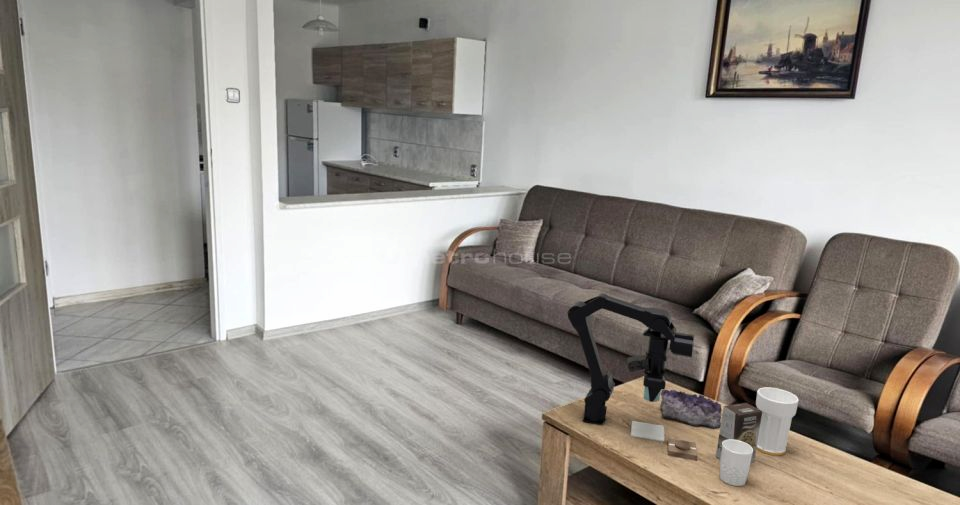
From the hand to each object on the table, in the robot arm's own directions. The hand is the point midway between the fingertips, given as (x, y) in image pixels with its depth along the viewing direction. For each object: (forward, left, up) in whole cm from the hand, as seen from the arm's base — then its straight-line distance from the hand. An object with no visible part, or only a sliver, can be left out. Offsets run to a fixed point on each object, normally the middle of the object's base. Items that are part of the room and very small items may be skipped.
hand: (651, 398), depth 196 cm
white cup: (+23, -20, -12) cm, 33 cm away
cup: (+36, +3, -12) cm, 38 cm away
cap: (0, 0, 0) cm, 0 cm away
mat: (0, 0, -11) cm, 11 cm away
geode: (+13, +15, -12) cm, 23 cm away
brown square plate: (+10, -9, -11) cm, 18 cm away
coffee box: (+25, -8, -12) cm, 29 cm away
